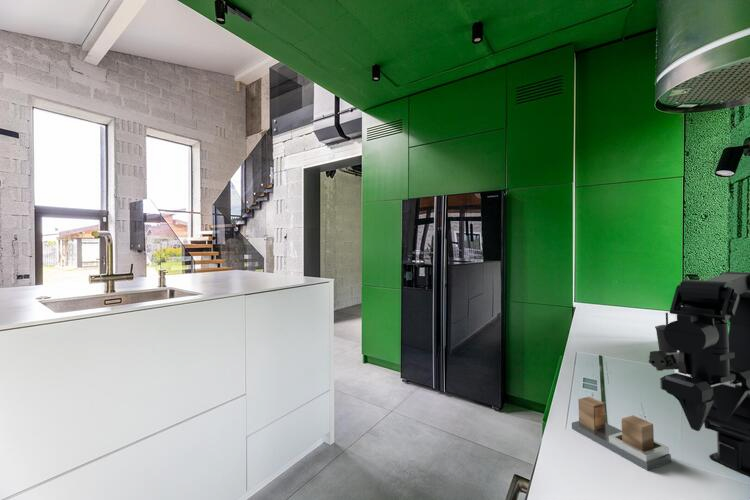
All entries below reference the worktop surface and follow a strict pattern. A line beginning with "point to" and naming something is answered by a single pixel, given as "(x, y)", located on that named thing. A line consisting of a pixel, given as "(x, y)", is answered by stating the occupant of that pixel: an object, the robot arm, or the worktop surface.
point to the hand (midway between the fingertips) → (709, 425)
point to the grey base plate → (625, 446)
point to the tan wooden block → (638, 433)
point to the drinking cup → (661, 340)
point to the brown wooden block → (592, 413)
